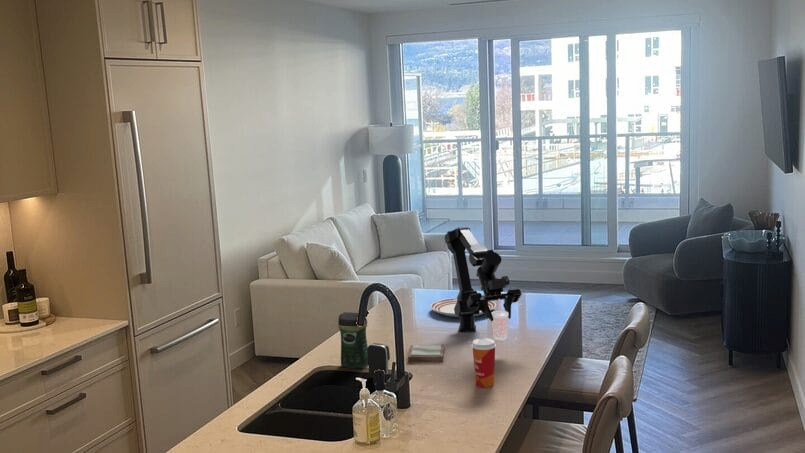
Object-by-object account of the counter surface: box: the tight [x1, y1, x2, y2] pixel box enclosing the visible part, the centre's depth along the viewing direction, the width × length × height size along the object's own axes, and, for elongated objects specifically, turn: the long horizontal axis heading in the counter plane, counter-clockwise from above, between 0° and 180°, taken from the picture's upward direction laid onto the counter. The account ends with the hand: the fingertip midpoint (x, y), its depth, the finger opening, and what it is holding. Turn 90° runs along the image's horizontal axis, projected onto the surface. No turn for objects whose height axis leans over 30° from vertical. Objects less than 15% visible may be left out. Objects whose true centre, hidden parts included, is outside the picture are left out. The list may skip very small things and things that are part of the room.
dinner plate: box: [429, 297, 497, 318], centre depth 326 cm, size 28×27×3 cm
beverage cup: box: [491, 299, 509, 341], centre depth 269 cm, size 6×6×14 cm
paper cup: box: [471, 337, 497, 389], centre depth 244 cm, size 8×8×14 cm
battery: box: [367, 342, 391, 379], centre depth 254 cm, size 7×4×11 cm, turn 63°
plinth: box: [407, 344, 445, 363], centre depth 274 cm, size 12×12×2 cm
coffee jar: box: [337, 311, 369, 369], centre depth 267 cm, size 10×8×19 cm
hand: (501, 319), depth 268 cm, fingers closed on beverage cup, 6 cm apart
